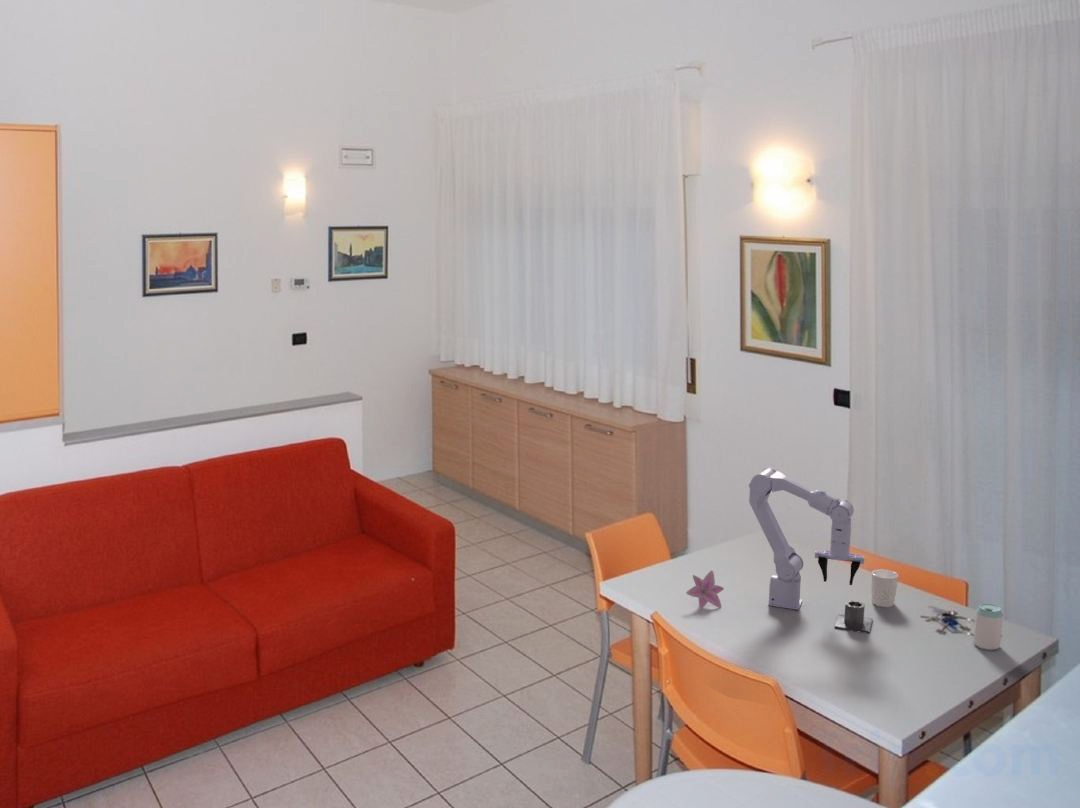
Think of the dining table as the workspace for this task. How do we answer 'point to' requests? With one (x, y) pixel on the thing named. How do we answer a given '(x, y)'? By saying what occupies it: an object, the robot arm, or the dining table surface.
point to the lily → (706, 590)
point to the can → (988, 627)
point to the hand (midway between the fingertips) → (838, 582)
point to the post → (842, 625)
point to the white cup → (884, 587)
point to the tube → (854, 613)
